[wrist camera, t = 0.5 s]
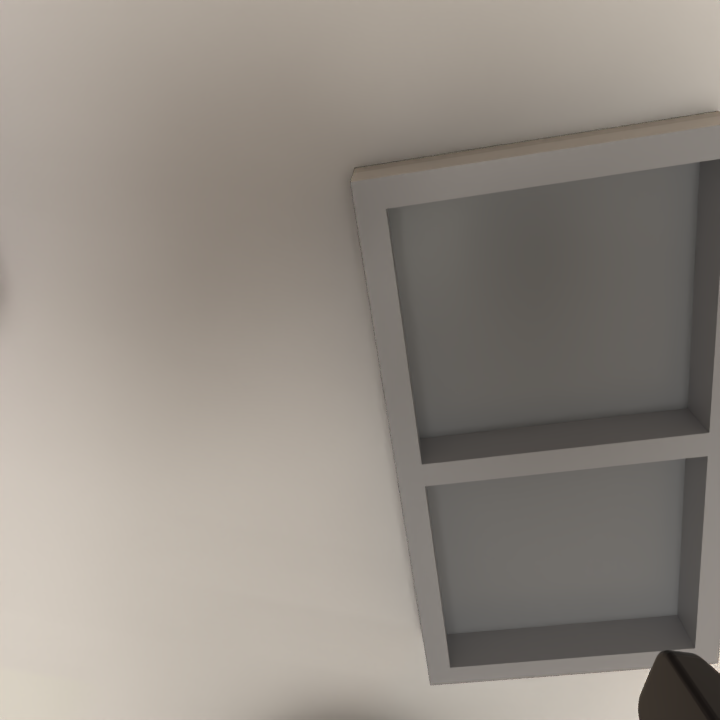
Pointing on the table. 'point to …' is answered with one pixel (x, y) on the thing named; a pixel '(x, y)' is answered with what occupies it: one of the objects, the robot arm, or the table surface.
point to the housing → (554, 394)
